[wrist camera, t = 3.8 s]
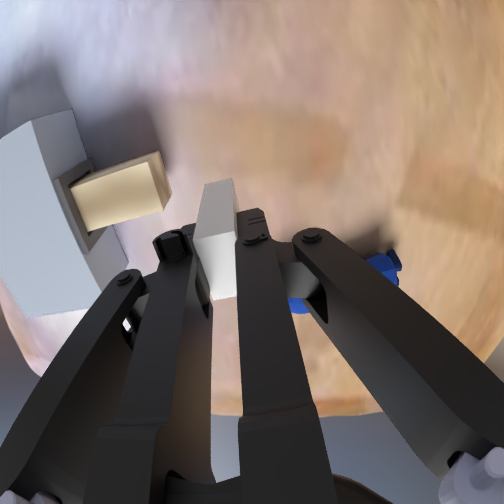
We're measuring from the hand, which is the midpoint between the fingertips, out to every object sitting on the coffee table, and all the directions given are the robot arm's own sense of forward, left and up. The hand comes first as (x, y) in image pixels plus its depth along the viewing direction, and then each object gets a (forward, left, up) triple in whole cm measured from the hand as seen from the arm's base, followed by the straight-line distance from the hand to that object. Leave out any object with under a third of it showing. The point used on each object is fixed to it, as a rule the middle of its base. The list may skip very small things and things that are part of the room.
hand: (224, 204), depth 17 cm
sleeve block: (0, -20, -13) cm, 23 cm away
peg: (0, -14, -11) cm, 18 cm away
